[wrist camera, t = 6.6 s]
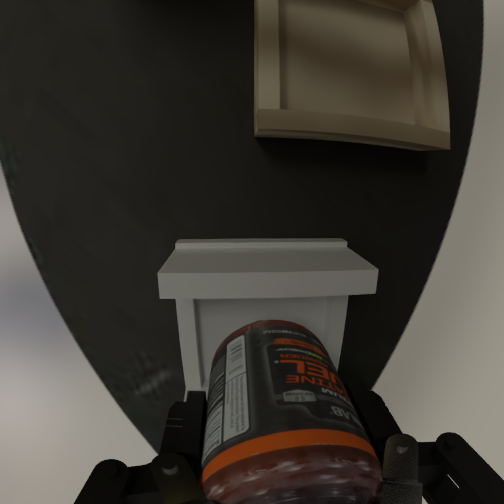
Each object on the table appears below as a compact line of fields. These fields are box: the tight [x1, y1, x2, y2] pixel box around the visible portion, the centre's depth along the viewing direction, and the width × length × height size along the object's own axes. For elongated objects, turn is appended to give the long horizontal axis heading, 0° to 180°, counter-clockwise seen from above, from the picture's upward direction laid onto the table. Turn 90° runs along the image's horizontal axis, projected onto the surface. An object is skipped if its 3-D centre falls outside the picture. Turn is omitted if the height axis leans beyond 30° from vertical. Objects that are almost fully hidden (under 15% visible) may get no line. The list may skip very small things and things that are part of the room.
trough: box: [254, 0, 450, 151], centre depth 14 cm, size 11×11×4 cm
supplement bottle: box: [199, 320, 383, 504], centre depth 10 cm, size 6×6×11 cm
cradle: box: [158, 238, 379, 402], centre depth 17 cm, size 11×10×6 cm
